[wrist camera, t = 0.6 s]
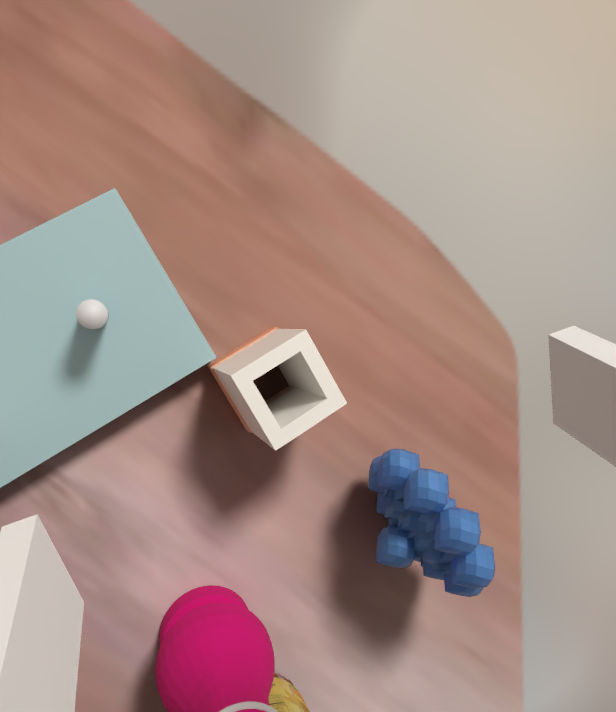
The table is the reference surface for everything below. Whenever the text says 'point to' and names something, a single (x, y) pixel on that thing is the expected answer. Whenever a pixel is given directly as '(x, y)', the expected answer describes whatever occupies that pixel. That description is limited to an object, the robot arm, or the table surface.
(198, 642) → the pepper mill
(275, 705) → the sauce bottle
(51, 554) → the robot arm
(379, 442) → the table surface
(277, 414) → the sleeve
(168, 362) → the pin board
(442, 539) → the grapes
